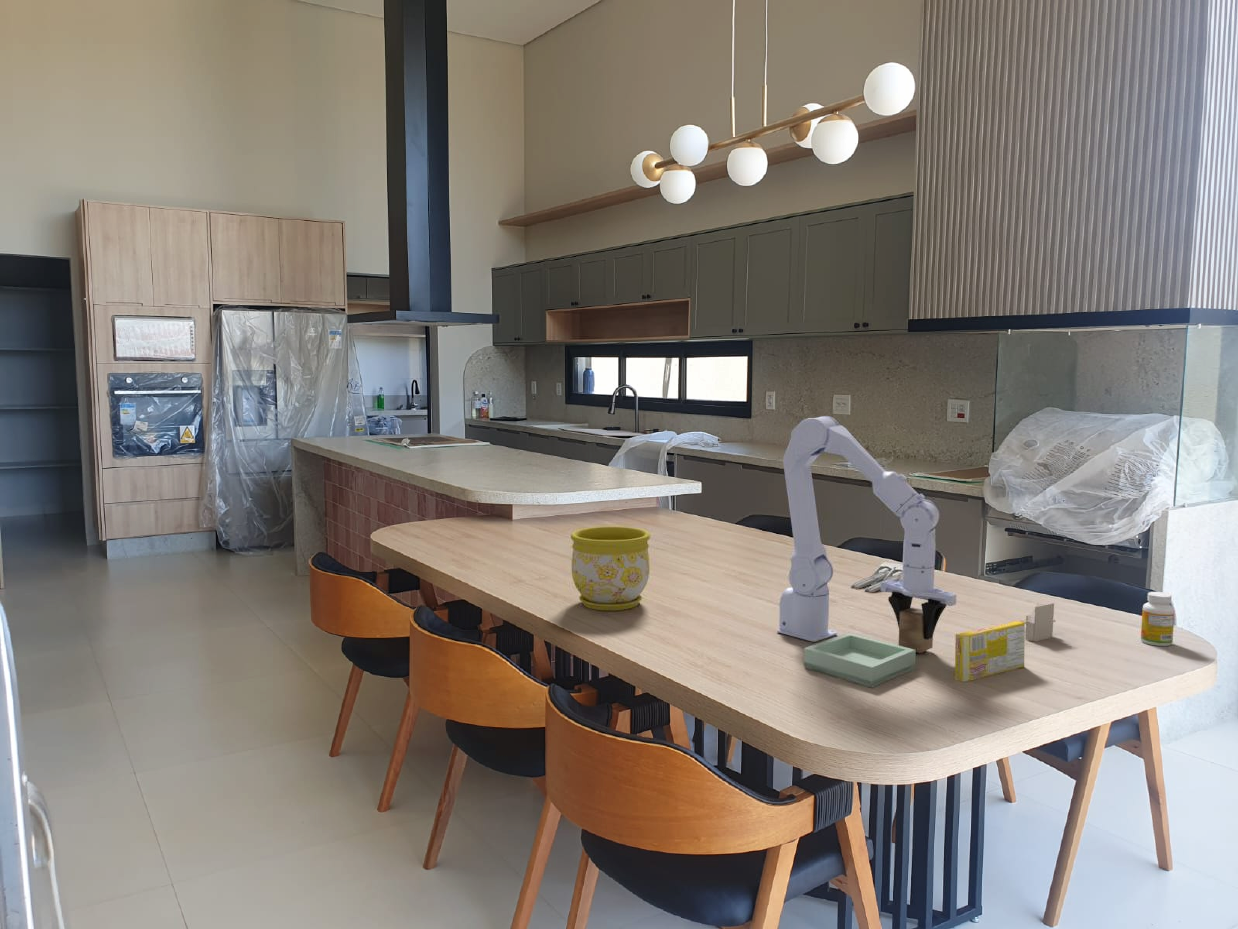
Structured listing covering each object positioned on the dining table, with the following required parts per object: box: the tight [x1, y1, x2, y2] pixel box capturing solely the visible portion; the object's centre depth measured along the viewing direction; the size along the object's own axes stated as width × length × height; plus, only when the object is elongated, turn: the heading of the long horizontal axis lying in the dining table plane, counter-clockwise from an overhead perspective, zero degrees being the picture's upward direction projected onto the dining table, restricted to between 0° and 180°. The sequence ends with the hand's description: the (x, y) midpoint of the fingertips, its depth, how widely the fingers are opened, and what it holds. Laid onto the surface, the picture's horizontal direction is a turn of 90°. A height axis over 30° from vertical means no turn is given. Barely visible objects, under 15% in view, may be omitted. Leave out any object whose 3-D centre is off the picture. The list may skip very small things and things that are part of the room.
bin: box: [803, 632, 916, 688], centre depth 162 cm, size 14×14×4 cm
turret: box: [850, 561, 903, 594], centre depth 223 cm, size 10×20×5 cm, turn 123°
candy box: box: [954, 620, 1026, 683], centre depth 159 cm, size 16×2×8 cm, turn 119°
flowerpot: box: [570, 525, 651, 611], centre depth 205 cm, size 18×18×16 cm
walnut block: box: [898, 607, 934, 654], centre depth 171 cm, size 4×4×7 cm
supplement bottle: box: [1140, 591, 1176, 647], centre depth 176 cm, size 5×5×10 cm
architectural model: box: [1019, 602, 1057, 642], centre depth 180 cm, size 3×7×7 cm, turn 119°
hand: (915, 635), depth 171 cm, fingers closed on walnut block, 4 cm apart
